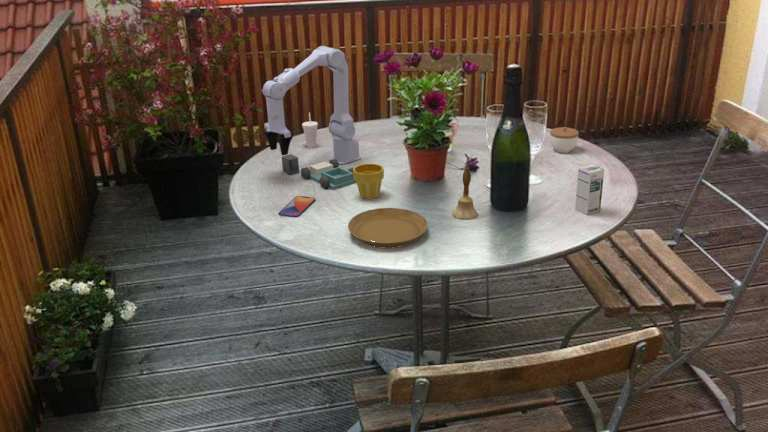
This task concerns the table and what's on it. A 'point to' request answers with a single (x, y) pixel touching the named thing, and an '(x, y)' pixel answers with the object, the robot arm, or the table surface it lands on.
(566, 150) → the lidded jar
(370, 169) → the plant pot
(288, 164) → the dark grey upright block
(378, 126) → the table surface
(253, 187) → the table surface
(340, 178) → the chassis
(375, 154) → the table surface
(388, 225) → the plant saucer
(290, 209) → the smartphone
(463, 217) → the hand bell
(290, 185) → the table surface
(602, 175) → the syrup box
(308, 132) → the smoothie
